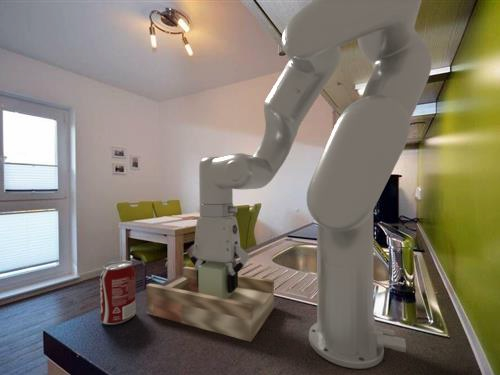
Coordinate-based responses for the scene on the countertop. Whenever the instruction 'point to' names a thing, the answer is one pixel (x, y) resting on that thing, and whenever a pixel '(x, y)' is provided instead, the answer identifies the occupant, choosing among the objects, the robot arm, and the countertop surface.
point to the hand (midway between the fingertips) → (217, 287)
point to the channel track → (214, 305)
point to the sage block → (213, 279)
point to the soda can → (117, 292)
